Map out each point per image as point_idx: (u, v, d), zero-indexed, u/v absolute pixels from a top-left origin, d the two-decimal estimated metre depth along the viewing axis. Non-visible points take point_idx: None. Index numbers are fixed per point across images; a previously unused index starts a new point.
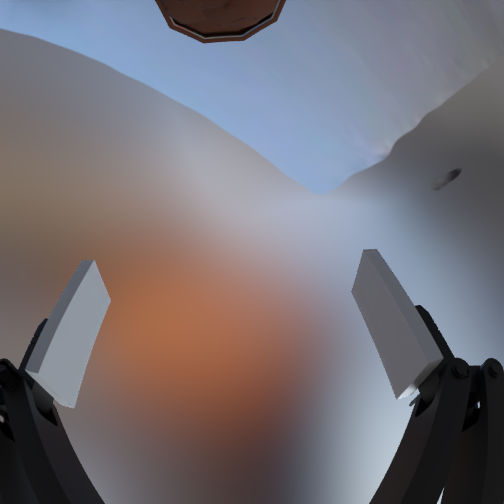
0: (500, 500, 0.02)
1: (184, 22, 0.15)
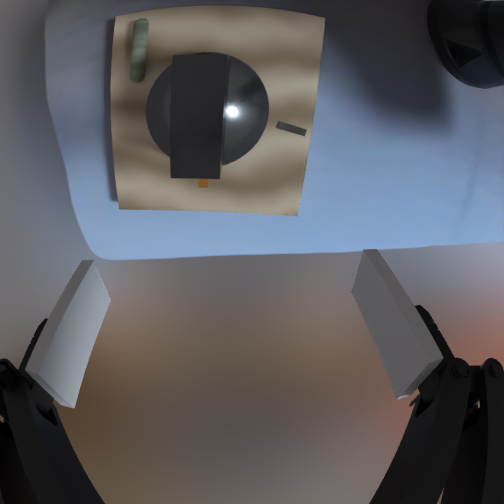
0: (499, 501, 0.02)
1: None
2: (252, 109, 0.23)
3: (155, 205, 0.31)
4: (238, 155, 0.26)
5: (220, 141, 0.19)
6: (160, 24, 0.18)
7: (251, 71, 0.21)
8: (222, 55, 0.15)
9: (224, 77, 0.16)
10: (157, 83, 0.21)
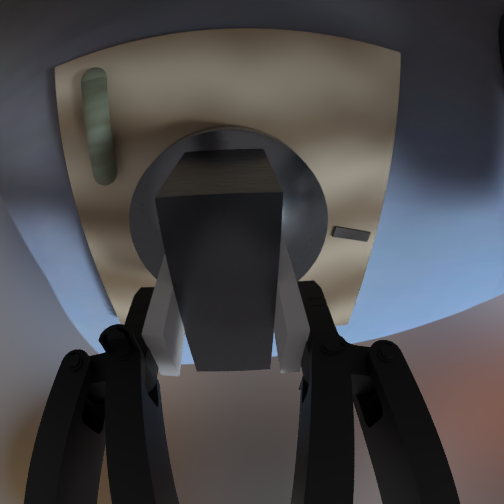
0: (449, 489, 0.03)
1: None
2: (301, 227, 0.16)
3: None
4: None
5: (271, 335, 0.12)
6: (126, 73, 0.12)
7: (300, 164, 0.14)
8: (271, 194, 0.08)
9: (277, 242, 0.09)
10: (139, 193, 0.14)
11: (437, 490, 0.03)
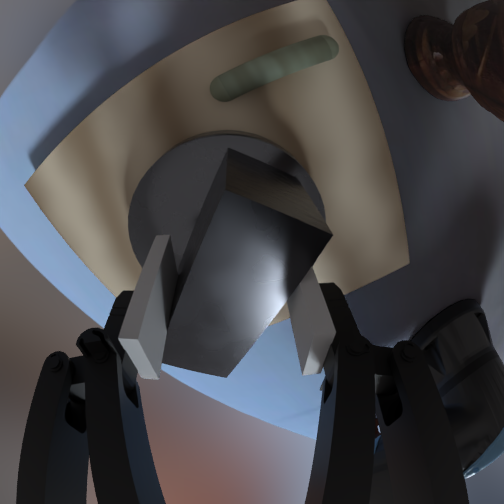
0: (460, 489, 0.03)
1: None
2: None
3: (61, 229, 0.17)
4: None
5: (248, 348, 0.12)
6: (332, 76, 0.13)
7: (319, 204, 0.15)
8: (323, 233, 0.09)
9: (304, 273, 0.10)
10: (162, 164, 0.13)
11: (449, 489, 0.03)
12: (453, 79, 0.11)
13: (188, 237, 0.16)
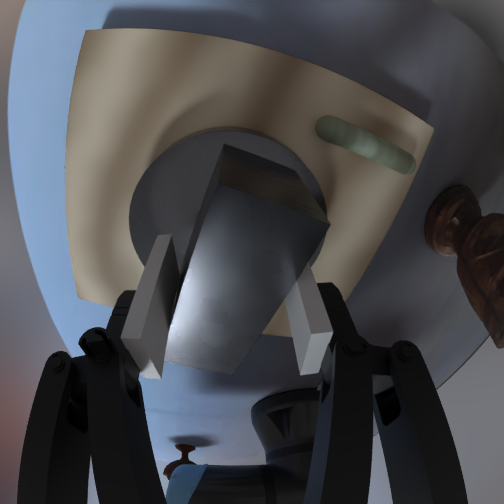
0: (459, 489, 0.03)
1: None
2: None
3: (76, 102, 0.12)
4: None
5: (252, 344, 0.12)
6: (388, 182, 0.17)
7: (319, 196, 0.15)
8: (320, 223, 0.09)
9: (303, 264, 0.10)
10: (160, 164, 0.13)
11: (448, 489, 0.03)
12: (450, 242, 0.19)
13: (189, 235, 0.16)
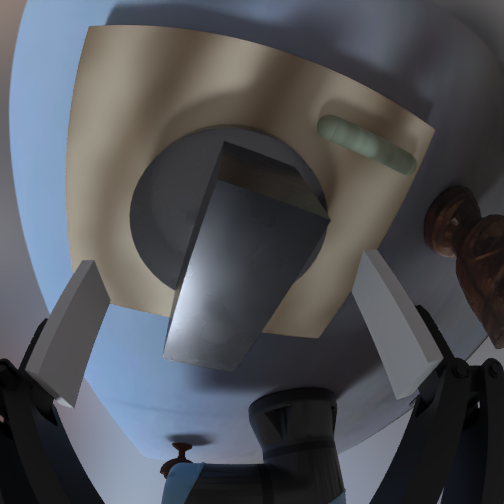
0: (500, 500, 0.02)
1: None
2: None
3: (79, 97, 0.12)
4: None
5: (253, 341, 0.12)
6: (388, 182, 0.17)
7: (320, 193, 0.15)
8: (320, 218, 0.09)
9: (304, 260, 0.10)
10: (160, 162, 0.13)
11: (493, 497, 0.02)
12: (450, 242, 0.19)
13: (190, 233, 0.16)
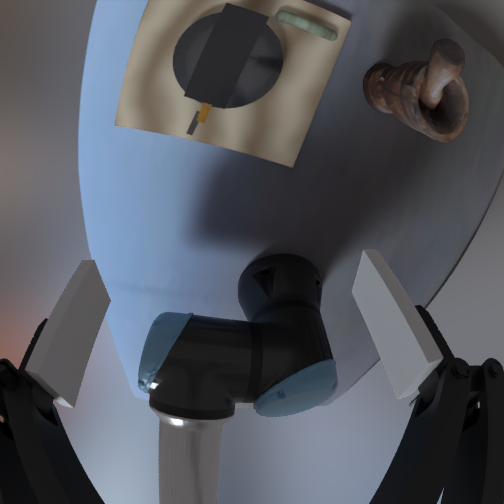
0: (499, 500, 0.02)
1: None
2: (265, 70, 0.24)
3: (151, 3, 0.19)
4: (241, 103, 0.27)
5: (237, 78, 0.20)
6: (323, 47, 0.24)
7: (277, 40, 0.22)
8: (265, 16, 0.16)
9: (260, 32, 0.17)
10: (196, 24, 0.20)
11: (493, 497, 0.02)
12: (382, 93, 0.27)
13: None
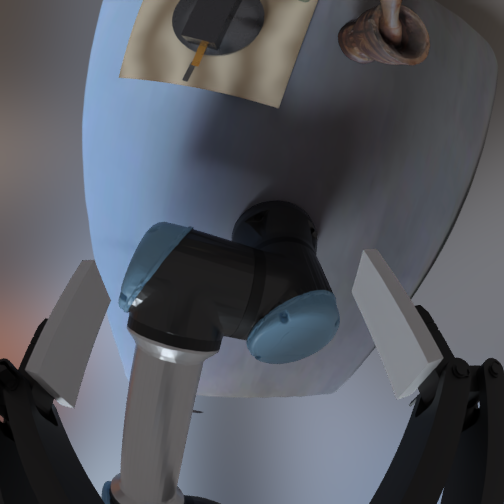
0: (499, 500, 0.02)
1: None
2: (250, 23, 0.25)
3: None
4: (229, 50, 0.27)
5: (224, 20, 0.21)
6: (299, 8, 0.25)
7: (258, 1, 0.23)
8: None
9: None
10: None
11: (493, 497, 0.02)
12: (354, 42, 0.27)
13: None
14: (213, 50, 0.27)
